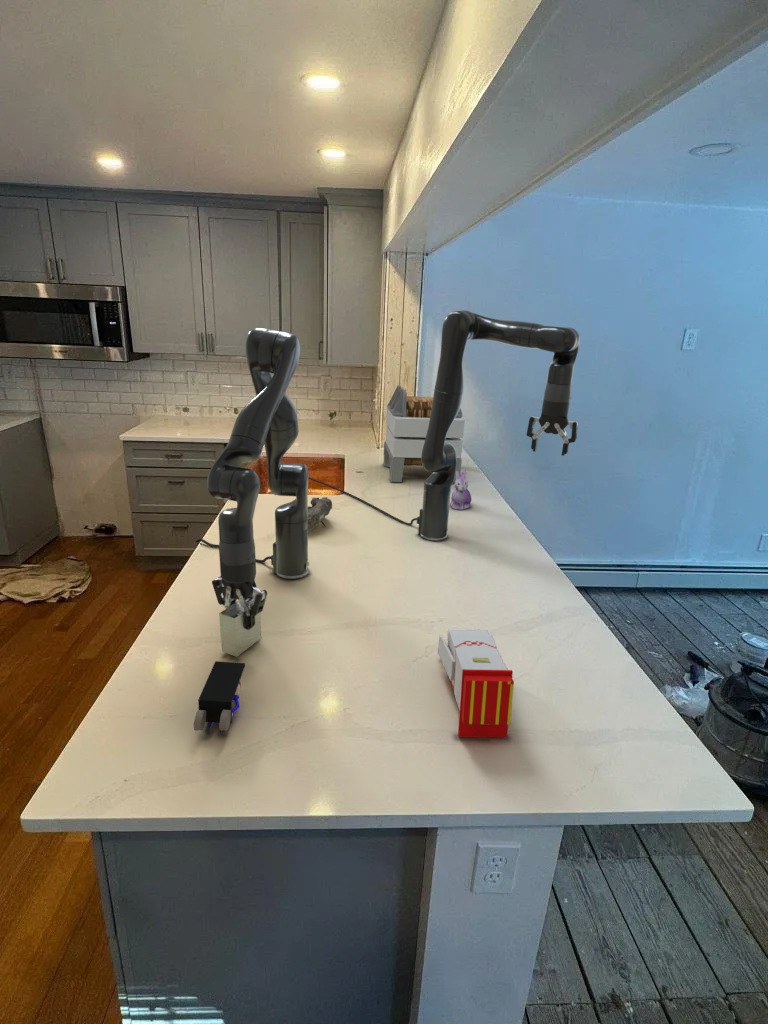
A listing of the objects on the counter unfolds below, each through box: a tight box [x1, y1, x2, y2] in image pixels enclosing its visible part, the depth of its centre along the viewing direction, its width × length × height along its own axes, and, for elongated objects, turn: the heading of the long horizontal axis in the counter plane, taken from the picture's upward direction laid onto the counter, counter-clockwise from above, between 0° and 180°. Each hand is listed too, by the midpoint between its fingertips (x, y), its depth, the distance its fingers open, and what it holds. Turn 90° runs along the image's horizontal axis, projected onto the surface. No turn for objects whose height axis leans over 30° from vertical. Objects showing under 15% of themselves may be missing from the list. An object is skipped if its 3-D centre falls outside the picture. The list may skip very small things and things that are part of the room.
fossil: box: [308, 496, 333, 533], centre depth 202 cm, size 22×10×15 cm
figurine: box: [450, 469, 472, 511], centre depth 228 cm, size 9×10×15 cm
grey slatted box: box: [383, 384, 465, 484], centre depth 268 cm, size 34×33×41 cm
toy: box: [437, 628, 515, 738], centre depth 117 cm, size 12×13×30 cm
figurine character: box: [193, 660, 246, 736], centre depth 107 cm, size 7×8×15 cm
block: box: [218, 598, 263, 658], centre depth 128 cm, size 4×9×10 cm, turn 154°
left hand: (241, 624), depth 128 cm, fingers closed on block, 4 cm apart
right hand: (548, 453), depth 171 cm, fingers open, 8 cm apart
